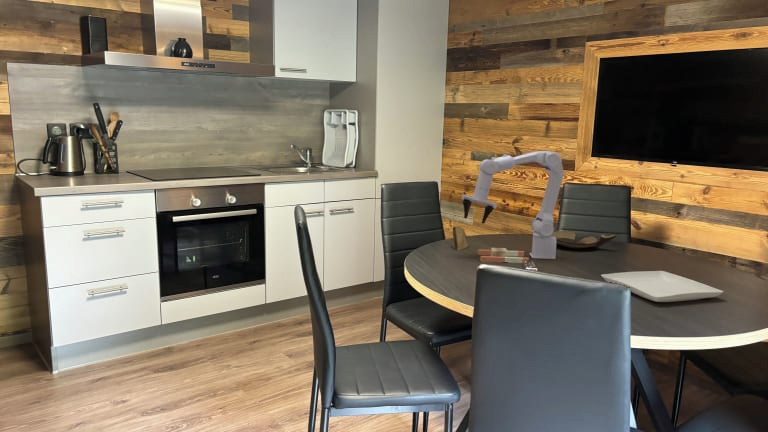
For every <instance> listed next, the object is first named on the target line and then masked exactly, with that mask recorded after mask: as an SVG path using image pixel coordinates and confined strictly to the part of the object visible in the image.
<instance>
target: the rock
mask: <svg viewBox="0 0 768 432" xmlns="http://www.w3.org/2000/svg"><path fill="white" fill-rule="evenodd" d="M452 239H453V240H452V241H453V242H452V243H453V244H452V247H453V248H452V249H454V250H456V251H461V250H464V249H466V248H467V247H469V246H470V242H469V238H468V235H467V234H466V232H465V229H464V228H463V227H461V226H459V225H457V226H456V225H455V226H453V227H452Z"/></svg>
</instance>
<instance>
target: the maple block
mask: <svg viewBox="0 0 768 432" xmlns="http://www.w3.org/2000/svg"><path fill="white" fill-rule="evenodd" d="M490 250H491V255H490V256H496V257H508V256H507V254H508V251H509V250H508V249H507V248H504V247H490Z"/></svg>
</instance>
